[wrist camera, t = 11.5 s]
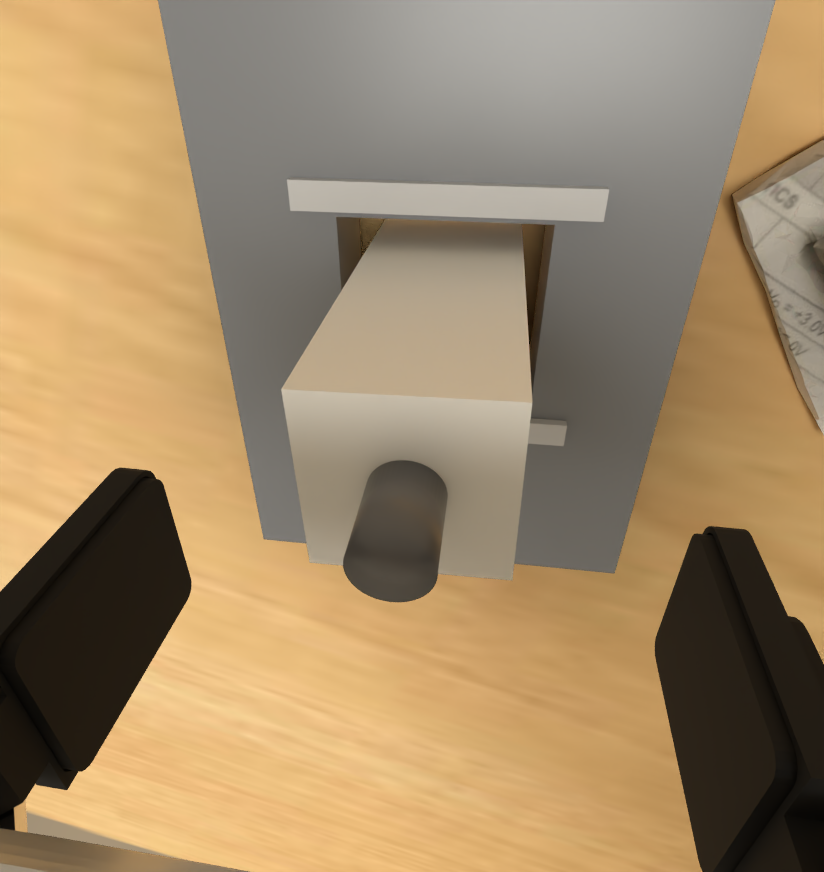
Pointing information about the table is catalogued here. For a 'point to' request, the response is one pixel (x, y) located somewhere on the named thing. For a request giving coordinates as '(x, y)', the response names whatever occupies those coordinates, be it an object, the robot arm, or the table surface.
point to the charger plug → (417, 410)
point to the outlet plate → (470, 201)
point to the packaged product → (791, 261)
